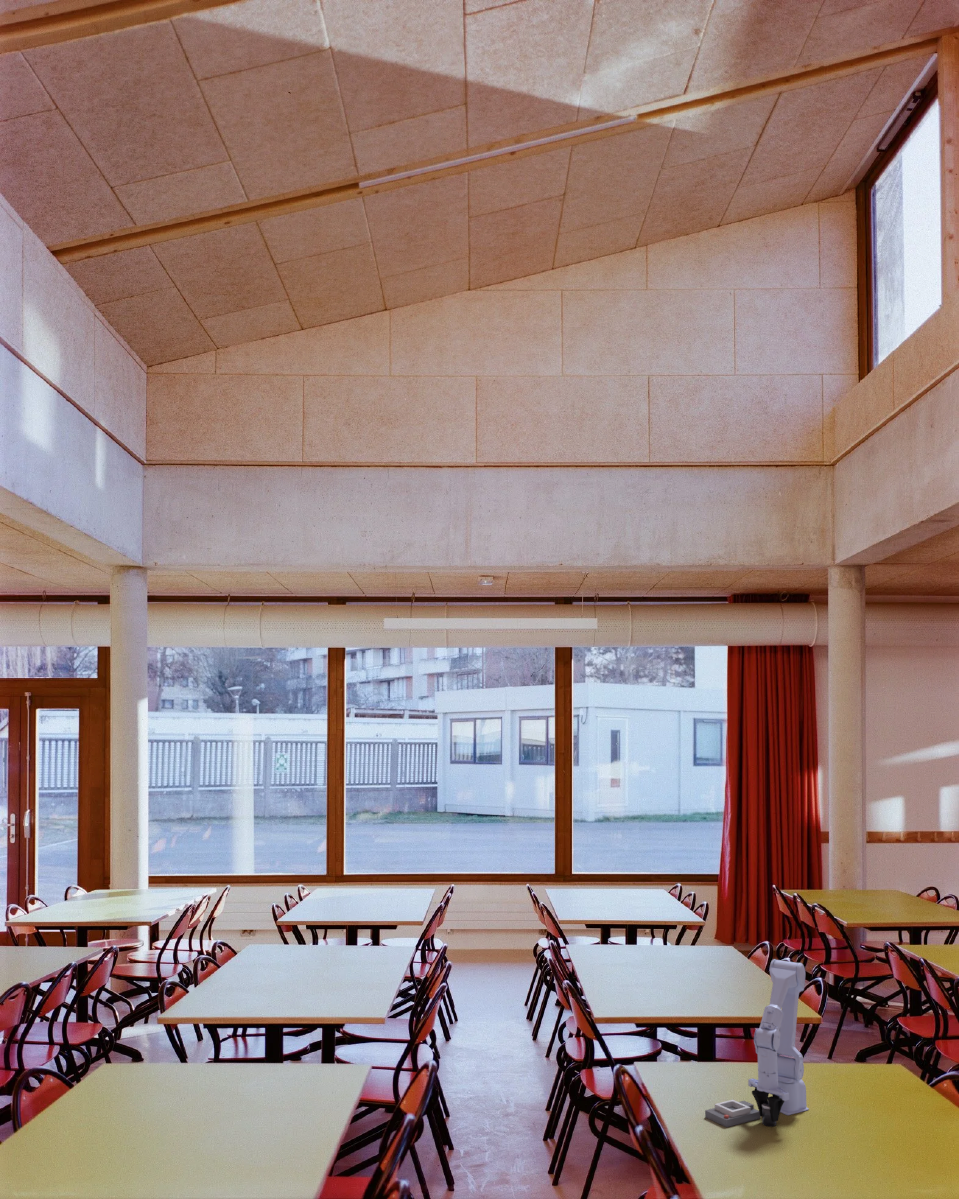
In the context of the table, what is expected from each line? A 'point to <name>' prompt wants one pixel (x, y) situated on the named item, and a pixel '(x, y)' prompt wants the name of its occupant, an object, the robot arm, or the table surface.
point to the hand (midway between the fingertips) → (769, 1118)
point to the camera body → (732, 1113)
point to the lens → (767, 1115)
